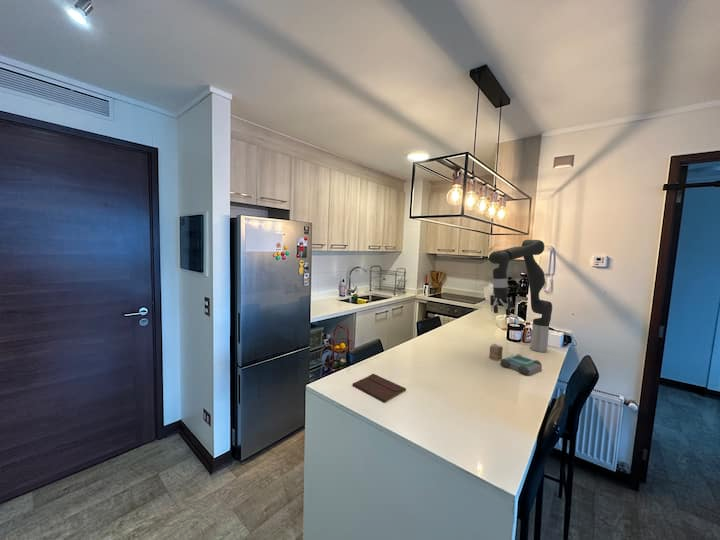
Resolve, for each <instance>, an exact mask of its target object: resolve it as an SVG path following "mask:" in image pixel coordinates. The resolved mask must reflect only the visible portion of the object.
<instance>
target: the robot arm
mask: <svg viewBox="0 0 720 540" xmlns="http://www.w3.org/2000/svg"><path fill="white" fill-rule="evenodd" d="M544 250H545V243H544V241H542V240H540V239H525V240H523V241H522V243H521V245H520V246H519V245H518V246H512V247H509V248H506V249H500V250H495V251H492V252H491V253H489V256H488V260H489V262H490V263H491V264H494V265H497V264H498V267H495V268H493V269H492V279H493V280H492V287H493V288H492V289H493V294H491V295H490V297H489V298H490V300H489V301H490V302H489V303H490V304H489V305H490V306H492V307H493V313H494V314H498V313H499V307H498V305H499V304H500V305H502V306H503V307H505V315H506V316H507V317H508V316H509V317H510V315H511V309H513V308H514V300H513V296H512V297H511V296H510V297H508V294H509V285H508V276H507V275H508V274H507V273H508V272H507V271H508V266H509V263H510V261H513V260H516V259H519V258H523V260H524V263H525V268H526V273H527V281H528V286H529V294H530V307H531V310H532V312H533V313H535V314H539V315H541V317H539V318H538V317H537V318H534V319H533V320H532V325H531V326H532V330H531V337H530V339H531V340H530V350H532V351H534V352H540V353H546V352H548V350H547V349H548V344H549V343H548V340H549V329H550V323H551V320H552V313H553V304H552V302H551V301H549V300H543V299H540V293H541V290H542V289H543V287H544V286H545V284H546V278H545V272H544V270H543V269H542V267H541V266H540V265H539V264H538V263H537V261H536V259H535V257H534V256H537V255H538V256H539V255H541V254H542V253H544Z"/></svg>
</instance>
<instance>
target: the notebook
mask: <svg viewBox="0 0 720 540" xmlns="http://www.w3.org/2000/svg"><path fill="white" fill-rule="evenodd" d="M352 387H354V388H355V389H358V390H360V391H362V392H364V393H365V394H367V395H369V396H371V397H373V398H374V399H377V400H378V401H380V402H381V403H382V402H383V403H384V404H386V403H387V402H389V401H390V400H393V399H394V398H396V397H397V396H400V395H401V394H403V393H405V392H406V391H407V389H406V387H404V386H402V385H399V384H398V383H395V382H393V381H391V380H388V379H386V378H384V377H381V376H379V375H377V374H375V373H372V374H369V375H368V376H366V377H363V378H362V379H360V380H357V381H356V382H353V383H352Z"/></svg>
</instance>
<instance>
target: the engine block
mask: <svg viewBox="0 0 720 540" xmlns="http://www.w3.org/2000/svg"><path fill="white" fill-rule="evenodd" d="M503 350H504V349H503V346H502V345H499V344H497V343H494V344H490V346H489V356H488V357H489V358H490V359H491V360H494V361H501V359H503Z"/></svg>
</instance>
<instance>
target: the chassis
mask: <svg viewBox="0 0 720 540" xmlns="http://www.w3.org/2000/svg"><path fill="white" fill-rule="evenodd" d="M500 366H502V368H508V369H511V370H512V371H516V372H518V373H519V374H521V375H523V376H524V375H526V376H528V377H530V376H532V375H535V374H536V373H537V374H538V373H539V372H541V371H542V370H543V369H542V367H543V365H542V363H541V362H540V361H539V360H537V359H536V360H535V359H531V358H528V357H526V356H523V355H521V354H519V353H517V354H515V355H510V356H507V357H505V358H502V359H500Z"/></svg>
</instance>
